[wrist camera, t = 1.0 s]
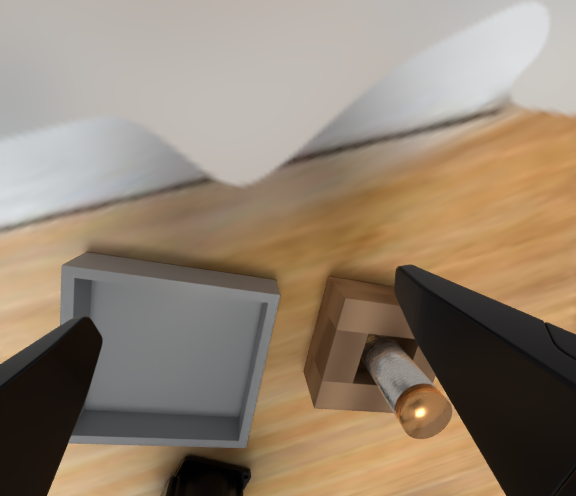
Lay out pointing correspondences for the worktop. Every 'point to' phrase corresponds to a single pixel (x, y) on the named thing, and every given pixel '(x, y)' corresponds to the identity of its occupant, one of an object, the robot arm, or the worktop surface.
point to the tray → (170, 350)
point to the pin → (406, 388)
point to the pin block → (355, 345)
